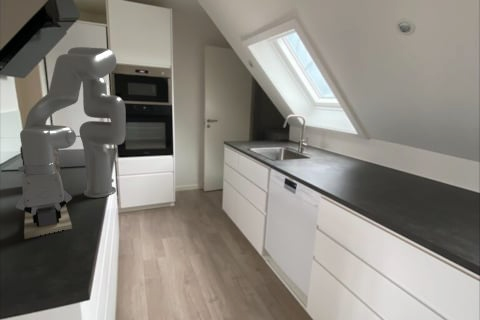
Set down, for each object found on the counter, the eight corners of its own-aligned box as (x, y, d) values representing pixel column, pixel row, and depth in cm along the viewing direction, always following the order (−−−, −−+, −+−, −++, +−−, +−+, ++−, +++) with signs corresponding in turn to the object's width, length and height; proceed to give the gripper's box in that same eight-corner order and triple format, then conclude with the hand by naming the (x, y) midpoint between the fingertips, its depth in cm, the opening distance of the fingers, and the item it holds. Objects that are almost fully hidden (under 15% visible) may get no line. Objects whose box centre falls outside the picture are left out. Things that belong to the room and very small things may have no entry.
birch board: (25, 210, 97) (25, 206, 97) (64, 203, 105) (64, 199, 104) (24, 239, 79) (24, 234, 79) (72, 228, 86) (71, 224, 86)
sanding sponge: (39, 219, 88) (37, 205, 87) (55, 216, 90) (53, 202, 89) (39, 229, 82) (37, 214, 80) (57, 225, 84) (55, 211, 83)
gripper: (3, 175, 74) (13, 234, 78) (74, 168, 84) (79, 220, 88) (5, 169, 80) (14, 224, 84) (71, 162, 90) (76, 212, 94)
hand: (48, 222), depth 86 cm, fingers closed on sanding sponge, 4 cm apart
